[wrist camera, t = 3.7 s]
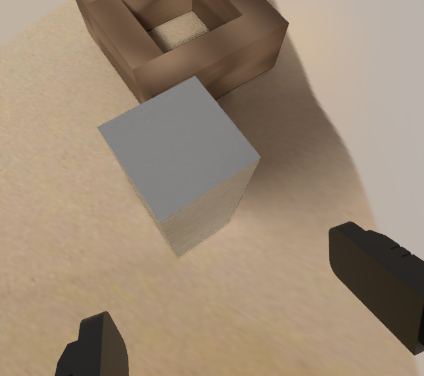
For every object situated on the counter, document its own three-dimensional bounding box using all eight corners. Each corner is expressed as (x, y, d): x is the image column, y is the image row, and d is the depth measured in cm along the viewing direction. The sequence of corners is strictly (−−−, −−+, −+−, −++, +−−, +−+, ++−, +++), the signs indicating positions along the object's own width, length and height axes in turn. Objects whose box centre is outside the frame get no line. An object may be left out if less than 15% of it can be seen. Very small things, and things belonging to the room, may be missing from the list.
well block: (159, 130, 24) (151, 95, 20) (89, 32, 27) (69, -16, 22) (274, 66, 27) (288, 23, 22) (198, -16, 30) (199, -68, 25)
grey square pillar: (177, 257, 21) (159, 222, 10) (144, 206, 22) (97, 127, 11) (229, 221, 22) (261, 157, 11) (195, 174, 23) (195, 75, 12)
